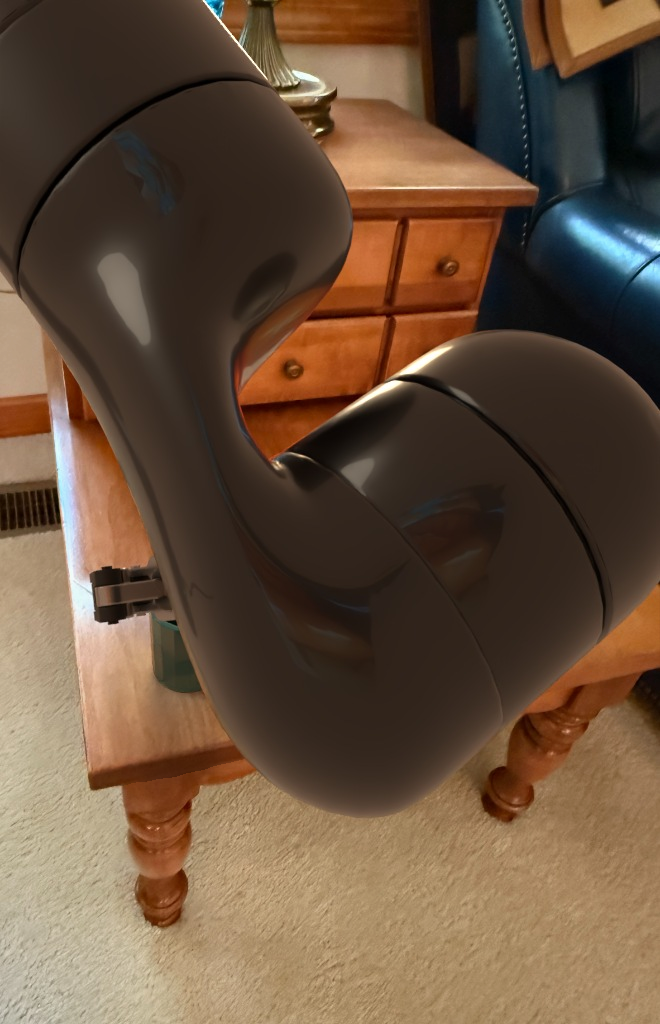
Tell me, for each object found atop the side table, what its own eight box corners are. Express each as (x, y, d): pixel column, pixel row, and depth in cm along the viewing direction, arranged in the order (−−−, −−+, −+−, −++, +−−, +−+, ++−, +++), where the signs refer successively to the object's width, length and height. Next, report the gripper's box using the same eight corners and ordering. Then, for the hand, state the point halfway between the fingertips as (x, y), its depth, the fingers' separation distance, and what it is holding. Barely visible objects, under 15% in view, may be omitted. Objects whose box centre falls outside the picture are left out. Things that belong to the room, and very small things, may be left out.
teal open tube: (162, 700, 66) (159, 638, 61) (145, 647, 70) (141, 584, 65) (232, 682, 68) (234, 620, 63) (212, 631, 73) (212, 570, 68)
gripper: (414, 467, 34) (317, 506, 50) (75, 502, 30) (85, 533, 45) (439, 638, 34) (333, 623, 49) (98, 697, 29) (100, 661, 45)
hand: (214, 580), depth 47 cm, fingers open, 8 cm apart
